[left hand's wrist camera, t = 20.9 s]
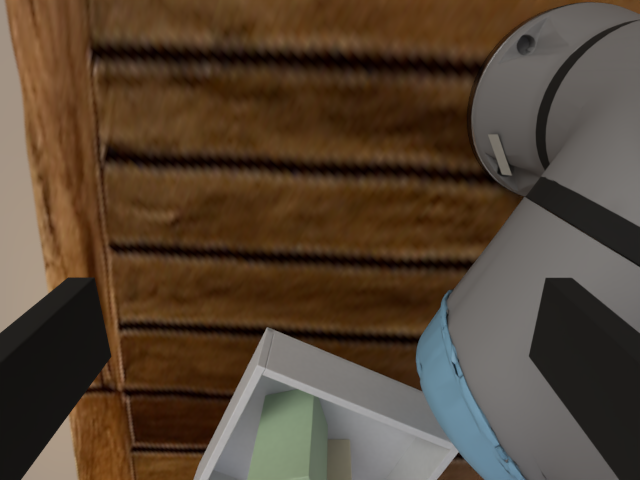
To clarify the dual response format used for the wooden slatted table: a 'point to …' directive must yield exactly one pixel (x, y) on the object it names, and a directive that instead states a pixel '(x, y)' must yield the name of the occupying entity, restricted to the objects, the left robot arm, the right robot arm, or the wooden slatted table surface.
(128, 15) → the wooden slatted table surface
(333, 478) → the block
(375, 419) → the tray
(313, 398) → the block
